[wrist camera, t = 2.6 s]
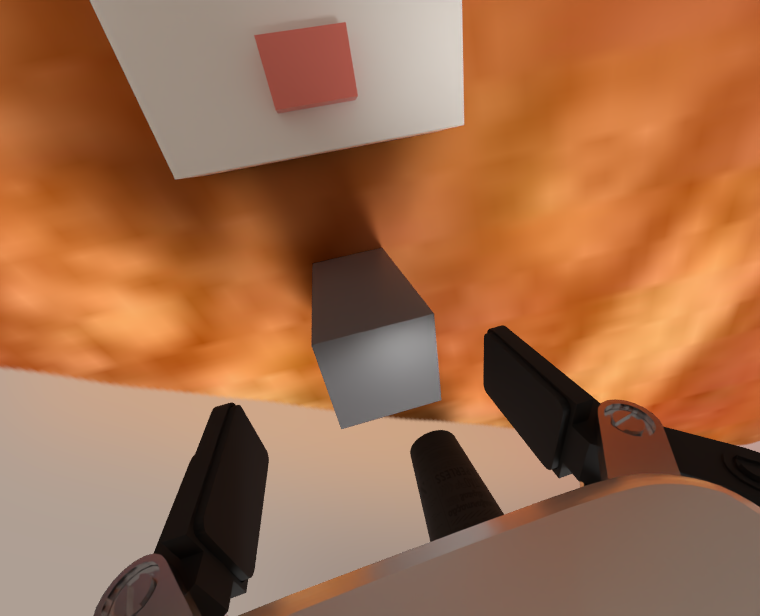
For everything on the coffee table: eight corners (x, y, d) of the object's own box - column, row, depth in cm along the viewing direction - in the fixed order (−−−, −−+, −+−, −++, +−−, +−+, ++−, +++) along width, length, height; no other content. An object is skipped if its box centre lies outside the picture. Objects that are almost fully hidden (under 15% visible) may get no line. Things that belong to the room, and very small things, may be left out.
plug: (382, 247, 18) (434, 313, 10) (392, 308, 20) (441, 400, 12) (312, 263, 18) (311, 345, 10) (330, 323, 20) (341, 429, 12)
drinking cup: (446, 406, 26) (706, 889, 9) (480, 442, 30) (711, 834, 12) (381, 451, 27) (500, 964, 10) (421, 480, 31) (560, 892, 13)
